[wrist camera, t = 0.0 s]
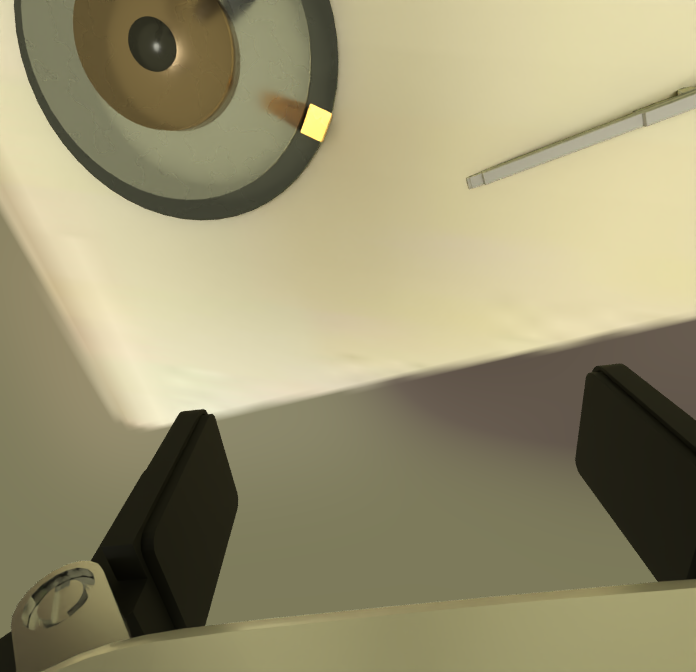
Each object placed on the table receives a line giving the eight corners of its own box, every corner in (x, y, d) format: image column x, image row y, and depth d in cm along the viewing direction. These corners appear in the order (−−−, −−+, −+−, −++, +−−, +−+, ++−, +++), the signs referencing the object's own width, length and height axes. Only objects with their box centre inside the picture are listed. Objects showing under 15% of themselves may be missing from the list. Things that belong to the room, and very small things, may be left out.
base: (-34, -120, 29) (-113, -175, 24) (314, -172, 29) (309, -240, 24) (92, 232, 39) (55, 246, 34) (353, 200, 38) (356, 209, 33)
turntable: (-10, -98, 29) (-106, -164, 22) (287, -141, 28) (272, -221, 22) (96, 210, 37) (48, 224, 31) (328, 181, 36) (325, 189, 30)
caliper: (704, 77, 35) (774, 64, 30) (705, 91, 36) (774, 82, 30) (464, 177, 38) (486, 183, 32) (468, 189, 39) (490, 198, 33)
